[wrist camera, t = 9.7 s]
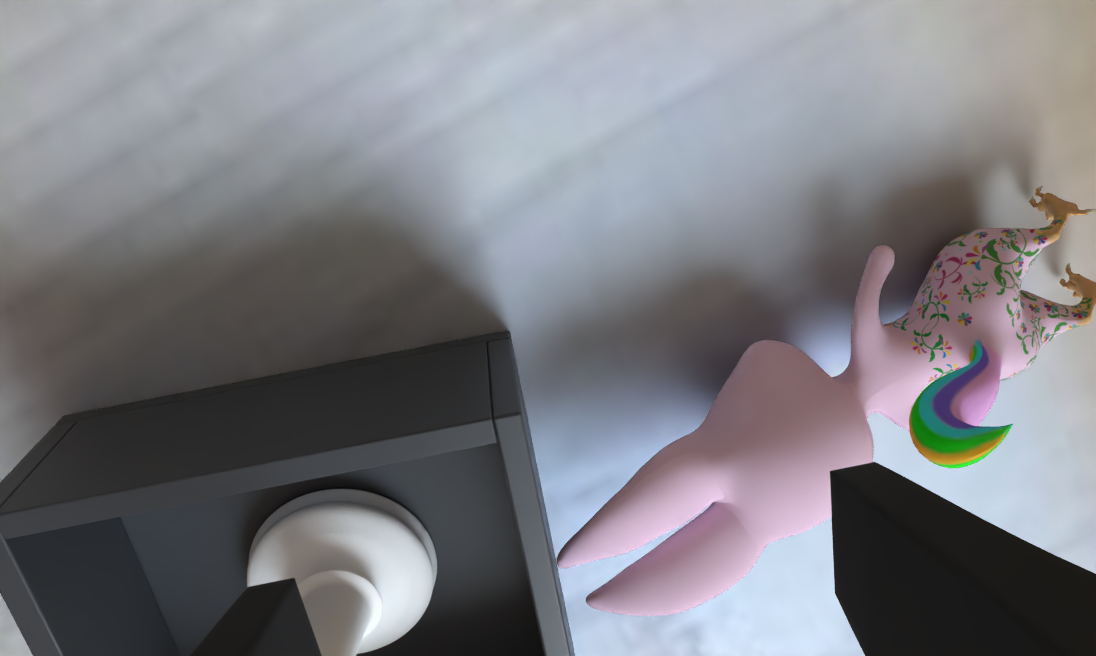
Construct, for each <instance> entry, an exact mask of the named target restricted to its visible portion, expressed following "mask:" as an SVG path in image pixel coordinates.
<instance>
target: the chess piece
mask: <svg viewBox="0 0 1096 656" xmlns="http://www.w3.org/2000/svg"><path fill="white" fill-rule="evenodd" d="M436 575H437V557H436V552H435V548H434V545H433V542H432V540H431V538H430V536H429V534H428V532H427V531H426V529H425V528H424V526H423V525H422V524H421V523H420V522H419V520H418V519H417V518H416V517H415V516H414V515H413V514H411V513H410V512H409V511H408V510H407V509H405V508H404V507H402V506H401V505H399V504H397V503H396V502H394V501H392V500H390V499H388V498H386V497H383V496H380V495H378V494H374V493H371V492H367V491H362V490H355V489H328V490H321V491H317V492H312V493H309V494H306V495H303V496H300V497H298V498H296V499H293V500H291V501H290V502H288V503H286V504H284V505H283V506H281V507H280V508H279V509H277V510H276V511H275V512H274V513H272V514H271V515H270V516H269V517H268V518H267V519H266V521H265V522H264V523H263V524H262V526H261V527H260V529H259V530H258V532H257V534H256V535H255V538H254V540H253V542H252V545H251V549H250V553H249V563H248V567H247V588H248V587H250V586H255V585H260V584H265V583H270V582H275V581H280V580H285V579H290V578H295V581H296V584H297V587H298V589H299V592H300V595H301V598H302V601H303V604H304V607H305V609H306V612H307V615H308V618H309V621H310V624H311V626H312V629H313V632H314V635H315V638H316V641H317V644H318V646H319V649H320V652H321V655H322V656H356V655H357V654H359V653H365V652H369V651H373V650H376V649H379V648H381V647H384V646H386V645H388V644H390V643H392V642H394V641H396V640H397V639H399V638H400V637H402V636H403V635H404V634H406V633H407V632H408V631H409V630H410V629H411V628H412V627H413V626H414V625H415V624H416V623H417V622H418V621H419V620H420V618H421V617H422V615H423V614H424V612H425V610H426V608H427V606H428V604H429V602H430V599H431V595H432V591H433V587H434V584H435V580H436Z"/></svg>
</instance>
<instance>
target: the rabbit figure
mask: <svg viewBox="0 0 1096 656" xmlns="http://www.w3.org/2000/svg"><path fill="white" fill-rule="evenodd" d="M1041 188H1042V186H1041V187H1039V188H1037V189H1036V193H1035V195H1037V196H1039V197H1042V199H1041V202H1039V203H1036V201H1035V199H1034V198H1033V196H1032V197H1031V199H1030V201H1029V202H1030V203H1031V205H1032V206H1033V207H1038V210H1039V211H1045V212H1046V214H1045V215H1046V217H1047V220H1048V221H1050V220H1052V219H1053V221H1052V223H1051V224H1050V225H1049V226H1047V227H1045V228H1040V229H1009V228H981V229H976V230H972V231H969V232H967V233H965V234H963V235H961V236H959V237H957V238H955V239H954V240H953V241H951V242H950V243H949V244H948V245H946V246H945V247H944V248H943V250H942V251H941V252H940V253H939V254H938V256H937V257H936V259H935V260H934V262H933V264H932V266H931V268H930V270H929V272H928V274H927V276H926V278H925V280H924V282H923V283H922V285H921V287H920V289H919V291H918V293H917V295H916V297H915V299H914V301H913V303H912V305H911V307H910V309H909V310H908V312H907V313H906V314H905V315H904V316H903V317H901V318H900V319H898V320H896V321H894V322H891V323H888V324H885V325H882V323H881V321H880V318H879V297H880V292H881V289H882V286H883V284H884V281H885V279H886V278H887V276H888V274H889V273H890V271H891V269H892V267H893V265H894V260H895V256H894V252H893V250H892V249H891V248H890V247H888V246H884V245H881V246H878V247H876V248H875V249H874V250H873V251H872V253H871V255H870V256H869V259H868V262H867V264H866V267H865V270H864V273H863V276H862V279H861V282H860V286H859V289H858V293H857V297H856V301H855V306H854V313H853V320H852V326H851V358H850V362H849V365H848V367H847V368H846V370H845V371H844V372H843V373H841V374H840V375H838V376H835V377H830V376H829V375H828V374H827V373H826V372H825V371H824V370H823V369H822V368H820V367H819V366H818V365H817V364H816V363H815V362H814V361H813V360H812V359H811V358H810V357H809V356H808V355H807V354H806V353H804V352H803V351H802V350H800V349H798V348H797V347H795V346H793V345H790V344H787V343H784V342H780V341H774V340H762V341H758V342H755V343H753V344H752V345H751V346H750V347H749V348H748V349H747V350H746V351H745V353H744V354H743V356H742V357H741V359H740V360H739V362H738V364H737V365H736V367H735V369H734V370H733V372H732V373H731V375H730V376H729V378H728V379H727V381H726V382H725V384H724V386H723V387H722V389H721V391H720V392H719V394H718V396H717V398H716V399H715V401H714V403H713V405H712V407H711V408H710V410H709V412H708V414H707V416H706V418H705V420H704V421H703V423H702V424H701V425H700V426H699V428H697V429H696V430H695V431H693V432H692V433H690V434H689V435H686V436H684V437H682V438H680V439H678V440H676V441H674V442H672V443H670V444H669V445H667V446H666V447H664V448H663V449H662V450H660V451H659V452H658V453H657V454H655V455H654V456H653V457H652V458H651V459H650V460H649V461H648V462H647V463H646V464H645V465H644V466H642V467H641V468H640V469H639V470H638V471H637V473H636V474H635V475H634V476H633V477H632V478H631V479H630V480H629V481H628V483H627V484H626V485H625V486H624V487H623V488H622V489H621V490H620V491H619V492H618V493H616V494H615V495H614V496H613V497H612V498H611V499H610V500H609V501H608V502H607V503H606V504H605V505H604V506H603V507H602V508H601V509H600V510H599V511H598V512H597V513H596V514H595V515H594V516H593V517H592V518H591V519H590V520H589V521H588V522H587V523H586V524H585V525H584V526H583V527H582V528H581V529H580V530H579V531H578V532H577V533H576V534H575V535H574V536H573V537H572V538H571V539H570V540H569V541H568V542H567V543H566V544H565V545H564V547H563V548H562V549H561V551H560V553H559V554H558V557H557V564H558V566H559V567H560V568H570V567H573V566H576V565H580V564H584V563H588V562H592V561H596V560H601V559H605V558H610V557H614V556H618V555H621V554H625V553H628V552H630V551H633V550H635V549H638V548H640V547H642V546H644V545H645V544H647V543H649V542H651V541H652V540H654V539H656V538H657V537H659V536H661V535H663V534H665V533H667V532H669V531H671V530H673V529H675V528H677V527H679V526H681V525H682V524H684V523H686V522H688V521H689V520H691V519H692V518H694V517H695V516H696V515H698V514H699V513H700V512H701V511H703V510H704V509H705V508H706V507H707V506H709V505H710V504H711V503H712V504H711V505H710V507H709V508H708V509H707V510H705V511H704V512H703V513H702V514H700V515H699V516H698V517H696V518H695V519H694V520H692V521H691V522H689V523H688V524H687V525H685V526H684V527H683V528H681V529H680V530H678V531H677V532H676V533H674V534H673V535H671V536H670V537H669V538H667V539H666V540H665V541H663V542H662V543H661V544H660V545H658V546H657V547H656V548H654V549H653V550H652V551H650V552H649V553H647V554H646V555H645V556H643V557H642V558H641V559H639V560H638V561H636V562H635V563H633V564H631V565H630V566H628V567H627V568H626V569H624V570H623V571H622V572H620V573H619V574H618V575H616V576H615V577H614V578H613V579H611V580H610V581H608V582H607V583H606V584H604V585H603V586H601V587H600V588H598V589H597V590H595V591H593V592H592V593H590V594H589V595H588V596H587V597H586V602H587V604H588V605H589V606H590V607H592V608H595V609H598V610H602V611H607V612H612V613H618V614H626V615H636V616H661V615H670V614H675V613H680V612H683V611H686V610H689V609H691V608H694V607H696V606H698V605H701V604H703V603H705V602H707V601H709V600H711V599H713V598H715V597H716V596H718V595H720V594H722V593H723V592H725V591H726V590H728V589H729V588H731V587H732V586H733V585H735V584H736V583H737V582H738V581H740V580H741V579H742V578H743V577H744V576H745V575H746V574H747V573H748V572H749V571H750V570H751V569H752V568H753V567H754V565H755V564H756V562H757V560H758V559H759V557H760V555H761V553H762V552H763V550H764V549H765V548H766V547H767V545H769V544H770V543H772V542H774V541H776V540H779V539H783V538H786V537H790V536H793V535H797V534H800V533H802V532H805V531H807V530H809V529H811V528H813V527H815V526H817V525H819V524H821V523H822V522H824V521H825V520H827V519H828V518H830V517H831V516H832V510H831V487H830V471H832V470H837V469H842V468H847V467H852V466H857V465H862V464H867V463H872V462H873V455H874V445H873V438H872V433H871V430H870V427H869V424H868V421H867V418H868V416H869V415H870V414H872V413H874V412H877V413H880V414H882V415H884V416H885V417H887V418H889V419H890V420H891V421H892V422H894V423H895V424H897V425H898V426H900V427H902V428H904V429H906V430H908V431H910V435H911V438H912V441H913V444H914V445H915V447H916V448H917V449H918V451H919V452H920V453H921V454H922V455H923V456H924V457H925V458H927V459H928V460H929V461H931V462H933V463H934V464H937V465H939V466H943V467H947V468H960V467H965V466H968V465H971V464H974V463H976V462H978V461H980V460H981V459H983V458H985V457H986V456H987V455H988V454H989V453H991V452H992V451H993V450H994V449H995V448H996V447H997V446H998V445H999V444H1000V443H1001V442H1002V441H1003V439H1004V438H1005V437H1006V435H1007V433H1008V432H1009V430H1010V429H1011V427H1012V425H1013V424H1010V425H1006V426H1000V427H978V425H979V424H980V423H981V421H982V420H983V419H984V417H985V416H986V415H987V413H988V412H989V410H990V409H991V407H992V405H993V403H994V401H995V399H996V396H997V393H998V389H999V383H1000V381H1001V380H1005V379H1008V378H1011V377H1014V376H1016V375H1018V374H1020V373H1021V372H1023V371H1024V370H1026V369H1027V368H1028V367H1029V366H1030V365H1031V364H1032V363H1033V361H1034V359H1035V358H1036V356H1037V353H1038V351H1039V350H1040V348H1041V347H1042V346H1044V345H1045V344H1046V343H1048V342H1049V341H1051V340H1052V339H1053V338H1055V337H1056V336H1057V335H1059V334H1060V333H1062V332H1064V331H1066V330H1069V329H1071V328H1074V327H1078V326H1083V325H1086V324H1087V323H1089V322H1090V320H1091V318H1092V311H1093V308H1094V305H1095V304H1096V283H1095V282H1093V281H1091V280H1089V279H1087V278H1084V277H1083V276H1081V275H1080V274H1074V273H1072V272H1071V268H1070V265H1069V264H1070V263H1069V264H1068V265H1067V266H1066V272H1067V273H1068V275H1069V281H1068V282H1067V283H1066V282H1065V280H1064V279H1061V280H1060V283H1061V285H1062V286H1063V287H1067V288H1068V289H1070V290H1073V291H1076V292H1074V293H1073V296H1074V297H1077V296H1078V297H1080V298H1082V301H1081V302H1080V303H1079V304H1077V305H1075V306H1069V305H1062V304H1058V303H1055V302H1052V301H1049V300H1046V299H1044V298H1041V297H1039V296H1036V295H1034V294H1032V293H1029V292H1027V291H1023V290H1020V286H1021V282H1022V279H1023V277H1024V275H1025V273H1026V272H1027V270H1028V269H1029V267H1030V266H1031V265H1032V263H1033V262H1034V261H1035V259H1036V257H1037V256H1038V254H1039V253H1040V251H1041V250H1042V249H1043V247H1045V246H1046V245H1048V244H1051V243H1053V242H1055V241H1056V240H1057V239H1058V238H1059V237H1060V235H1061V230H1062V228H1063V226H1064V225H1065V223H1066V221H1067V219H1068V217H1069V216H1070V215H1088V214H1090V213H1092V212H1094V211H1096V209H1087V210H1079V209H1078V207H1077V205H1076V204H1074V203H1071V202H1067V201H1064V200H1062V199H1060V198H1058V197H1056V196H1054V195H1053V194H1051V193H1046V194H1043V193H1040V191H1041ZM933 381H934V382H933ZM931 382H933V383H931ZM929 383H931V384H930V385H929V386H928V387H926V388H925V389H924V390H923V388H924V387H925V386H927V385H928V384H929ZM922 390H923V391H922ZM921 391H922V393H921Z"/></svg>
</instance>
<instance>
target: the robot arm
mask: <svg viewBox="0 0 1096 656" xmlns="http://www.w3.org/2000/svg"><path fill="white" fill-rule="evenodd" d="M830 487H831V510H832V533H833V556H834V579H835V594H836V596H837V598H838V600H839V602H840V605H841V607H842V609H843V611H844V613H845V615H846V617H847V619H848V621H849V624H850V626H851V628H852V630H853V632H854V634H855V636H856V638H857V640H858V642H859V644H860V646H861V648H862V650H863V652H864V654H865V656H1096V574H1095V573H1092V572H1090V571H1088V570H1086V569H1084V568H1081V567H1079V566H1077V565H1075V564H1073V563H1070V562H1068V561H1066V560H1064V559H1062V558H1059V557H1057V556H1055V555H1053V554H1051V553H1049V552H1047V551H1045V550H1043V549H1041V548H1039V547H1037V546H1035V545H1032V544H1030V543H1028V542H1026V541H1024V540H1022V539H1020V538H1018V537H1016V536H1014V535H1012V534H1010V533H1008V532H1006V531H1005V530H1003V529H1001V528H999V527H997V526H995V525H993V524H991V523H989V522H987V521H985V520H983V519H981V518H979V517H978V516H976V515H974V514H972V513H970V512H968V511H966V510H964V509H962V508H961V507H959V506H957V505H955V504H953V503H951V502H950V501H948V500H946V499H944V498H942V497H940V496H938V495H937V494H935V493H933V492H931V491H929V490H927V489H925V488H924V487H922V486H920V485H918V484H916V483H914V482H913V481H911V480H909V479H907V478H905V477H903V476H901V475H899V474H898V473H896V472H894V471H892V470H890V469H888V468H886V467H884V466H882V465H880V464H878V463H875V462H872V463H867V464H862V465H857V466H852V467H847V468H842V469H837V470H832V471H830ZM190 656H322V655H321V652H320V649H319V646H318V644H317V641H316V638H315V635H314V632H313V629H312V626H311V624H310V621H309V618H308V615H307V612H306V609H305V607H304V604H303V601H302V598H301V595H300V592H299V589H298V587H297V584H296V581H295V578H290V579H285V580H280V581H275V582H270V583H265V584H260V585H255V586H250V587H248V588H247V589H246V590H245V591H244V592H243V593H242V594H241V596H240V597H239V598H238V599H237V600H236V601H235V602H234V604H233V605H232V606H231V607H230V608H229V609H228V611H227V612H226V613H225V614H224V615H223V617H222V618H221V619H220V620H219V621H218V623H217V624H216V625H215V626H214V627H213V629H212V630H211V631H210V632H209V634H208V635H207V636H206V637H205V638H204V640H203V641H202V642H201V643H200V644H199V646H198V647H197V648H196V649H195V650H194V652H193V653H192V654H191V655H190Z"/></svg>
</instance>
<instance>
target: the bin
mask: <svg viewBox="0 0 1096 656" xmlns="http://www.w3.org/2000/svg"><path fill="white" fill-rule="evenodd" d="M328 489H355V490H362V491H367V492H371V493H374V494H378V495H380V496H383V497H386V498H388V499H390V500H392V501H394V502H396V503H397V504H399V505H401V506H402V507H404V508H405V509H407V510H408V511H409V512H410V513H411V514H413V515H414V516H415V517H416V518H417V519H418V520H419V522H420V523H421V524H422V525H423V526H424V528H425V529H426V531H427V532H428V534H429V536H430V538H431V540H432V542H433V545H434V548H435V552H436V557H437V575H436V580H435V584H434V587H433V591H432V595H431V599H430V602H429V604H428V606H427V608H426V610H425V612H424V614H423V615H422V617H421V618H420V620H419V621H418V622H417V623H416V624H415V625H414V626H413V627H412V628H411V629H410V630H409V631H408V632H407V633H406V634H404V635H403V636H402V637H400V638H399V639H397V640H396V641H394V642H392V643H390V644H388V645H386V646H384V647H381V648H379V649H376V650H373V651H369V652H365V653H359V654H357V655H356V656H575V654H574V649H573V644H572V639H571V634H570V629H569V624H568V619H567V614H566V609H565V604H564V599H563V594H562V589H561V584H560V579H559V574H558V569H557V564H556V559H555V554H554V549H553V544H552V539H551V534H550V529H549V524H548V519H547V514H546V509H545V504H544V499H543V494H542V489H541V484H540V479H539V474H538V469H537V464H536V459H535V454H534V449H533V444H532V439H531V434H530V429H529V424H528V419H527V414H526V409H525V404H524V399H523V394H522V389H521V384H520V379H519V374H518V369H517V364H516V359H515V354H514V349H513V344H512V339H511V334H510V331H503V332H497V333H492V334H487V335H482V336H477V337H471V338H466V339H461V340H456V341H451V342H445V343H440V344H435V345H430V346H425V347H419V348H414V349H409V350H404V351H399V352H393V353H388V354H383V355H378V356H373V357H368V358H362V359H357V360H352V361H347V362H342V363H336V364H331V365H326V366H321V367H316V368H310V369H305V370H300V371H295V372H290V373H284V374H279V375H274V376H269V377H264V378H258V379H253V380H248V381H243V382H238V383H232V384H227V385H222V386H217V387H212V388H206V389H201V390H196V391H191V392H186V393H181V394H175V395H170V396H165V397H160V398H155V399H149V400H144V401H139V402H134V403H129V404H123V405H118V406H113V407H108V408H103V409H97V410H92V411H87V412H82V413H77V414H71V415H66V416H63V417H62V418H61V419H60V420H59V421H58V422H57V423H56V425H55V426H53V427H52V428H51V429H50V431H49V432H48V433H47V434H46V435H45V436H44V437H43V438H42V439H41V440H40V441H39V442H38V443H37V444H36V445H35V446H34V447H33V448H32V450H31V451H30V452H29V453H28V454H27V455H26V456H25V457H24V458H23V459H22V460H21V461H20V462H19V463H18V464H17V465H16V466H15V467H14V469H13V470H12V471H11V472H10V473H9V474H8V475H7V476H6V477H5V478H4V479H3V480H2V481H1V482H0V593H1V595H2V597H3V599H4V601H5V603H6V604H7V606H8V608H9V610H10V612H11V614H12V616H13V618H14V620H15V622H16V624H17V625H18V627H19V629H20V631H21V633H22V635H23V637H24V639H25V641H26V643H27V645H28V646H29V648H30V650H31V652H32V654H33V656H190V655H191V654H192V653H193V652H194V650H195V649H196V648H197V647H198V646H199V644H200V643H201V642H202V641H203V640H204V638H205V637H206V636H207V635H208V634H209V632H210V631H211V630H212V629H213V627H214V626H215V625H216V624H217V623H218V621H219V620H220V619H221V618H222V617H223V615H224V614H225V613H226V612H227V611H228V609H229V608H230V607H231V606H232V605H233V604H234V602H235V601H236V600H237V599H238V598H239V597H240V596H241V594H242V593H243V592H244V591H245V590H246V589H247V567H248V563H249V553H250V549H251V545H252V542H253V540H254V538H255V535H256V534H257V532H258V530H259V529H260V527H261V526H262V524H263V523H264V522H265V521H266V519H267V518H268V517H269V516H270V515H271V514H272V513H274V512H275V511H276V510H277V509H279V508H280V507H281V506H283V505H284V504H286V503H288V502H290V501H291V500H293V499H296V498H298V497H300V496H303V495H306V494H309V493H312V492H317V491H321V490H328Z"/></svg>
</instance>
